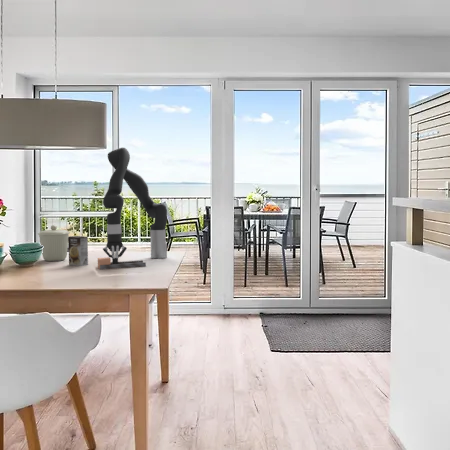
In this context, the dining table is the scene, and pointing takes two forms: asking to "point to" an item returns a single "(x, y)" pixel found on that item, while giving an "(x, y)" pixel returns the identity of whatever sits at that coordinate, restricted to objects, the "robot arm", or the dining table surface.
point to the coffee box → (78, 250)
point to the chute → (124, 265)
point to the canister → (54, 244)
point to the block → (104, 261)
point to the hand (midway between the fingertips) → (115, 265)
